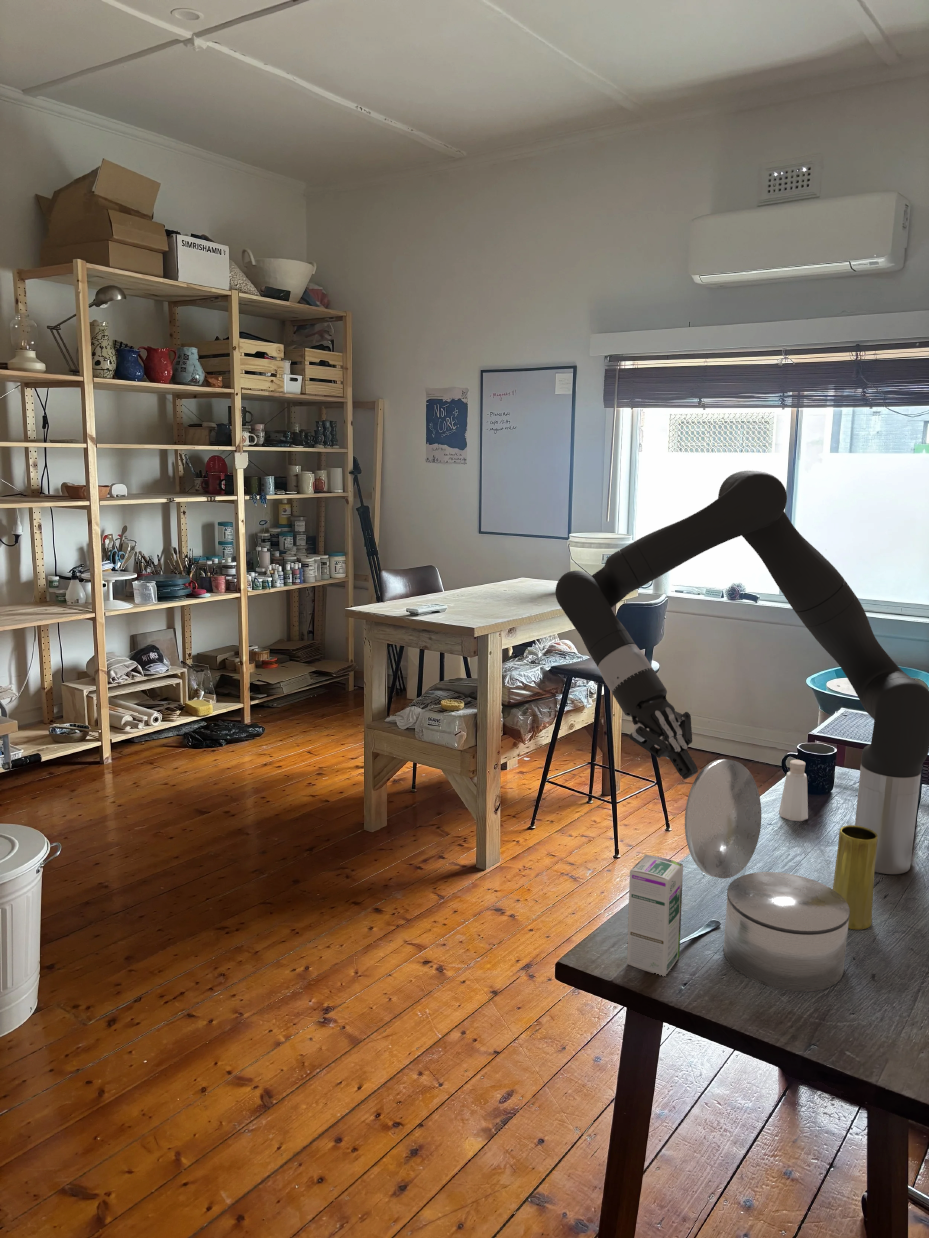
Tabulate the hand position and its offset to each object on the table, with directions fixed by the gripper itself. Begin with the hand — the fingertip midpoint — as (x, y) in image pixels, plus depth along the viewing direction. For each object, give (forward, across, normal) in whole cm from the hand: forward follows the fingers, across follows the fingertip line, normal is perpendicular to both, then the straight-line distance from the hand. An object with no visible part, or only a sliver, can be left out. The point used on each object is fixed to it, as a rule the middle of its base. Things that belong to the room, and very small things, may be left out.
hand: (691, 775), depth 136 cm
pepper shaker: (+10, +45, +21) cm, 51 cm away
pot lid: (+8, 0, -2) cm, 8 cm away
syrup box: (+20, -15, +11) cm, 27 cm away
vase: (+28, +17, +3) cm, 33 cm away
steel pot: (+28, 0, +4) cm, 28 cm away
